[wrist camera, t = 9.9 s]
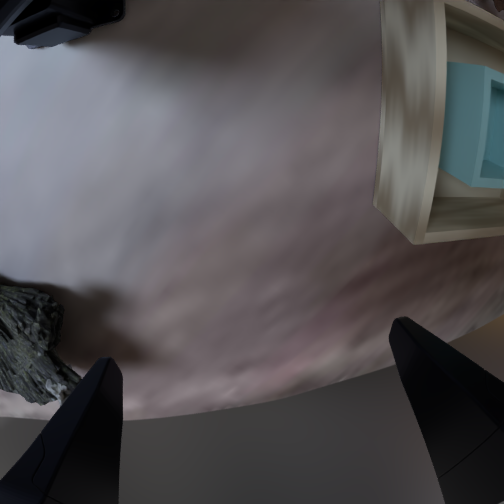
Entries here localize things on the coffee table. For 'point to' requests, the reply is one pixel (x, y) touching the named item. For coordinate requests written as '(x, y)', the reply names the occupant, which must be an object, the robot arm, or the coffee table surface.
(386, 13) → the big crate
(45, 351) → the mineral specimen
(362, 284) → the coffee table surface
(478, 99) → the small crate
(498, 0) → the brown leather pouch belt
